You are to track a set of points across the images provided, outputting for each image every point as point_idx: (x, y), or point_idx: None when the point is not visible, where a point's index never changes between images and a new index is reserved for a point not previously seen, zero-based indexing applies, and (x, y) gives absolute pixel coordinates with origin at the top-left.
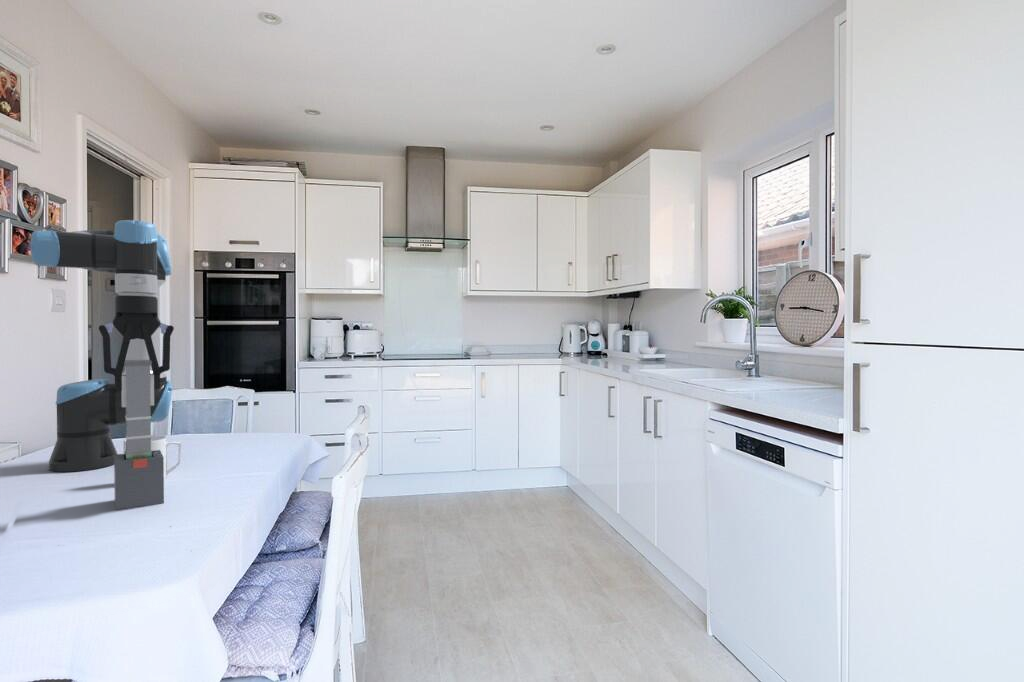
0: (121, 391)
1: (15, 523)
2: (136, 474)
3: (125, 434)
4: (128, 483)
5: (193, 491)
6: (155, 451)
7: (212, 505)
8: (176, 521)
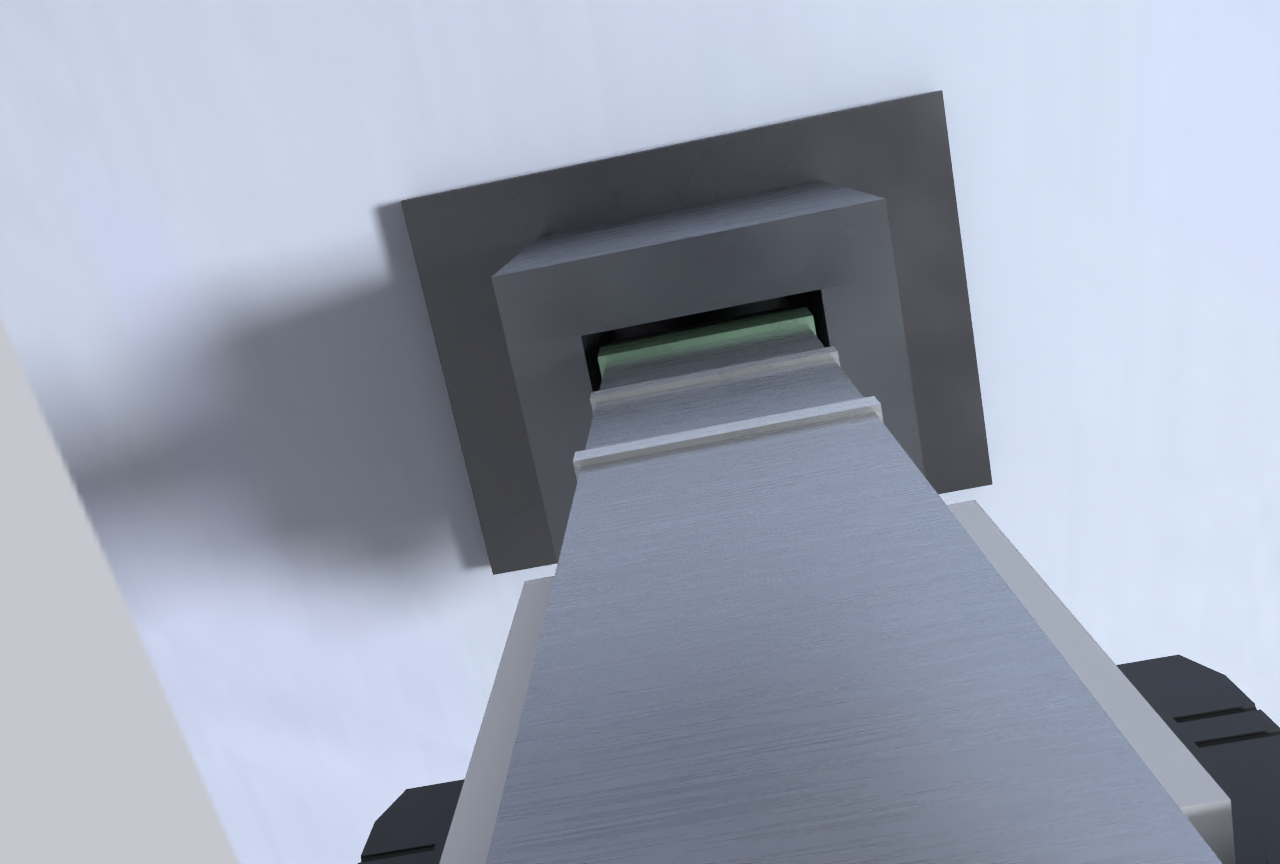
0: (492, 706)
1: (69, 400)
2: None
3: (593, 411)
4: None
5: (1034, 47)
6: (850, 264)
7: (1142, 485)
8: None
